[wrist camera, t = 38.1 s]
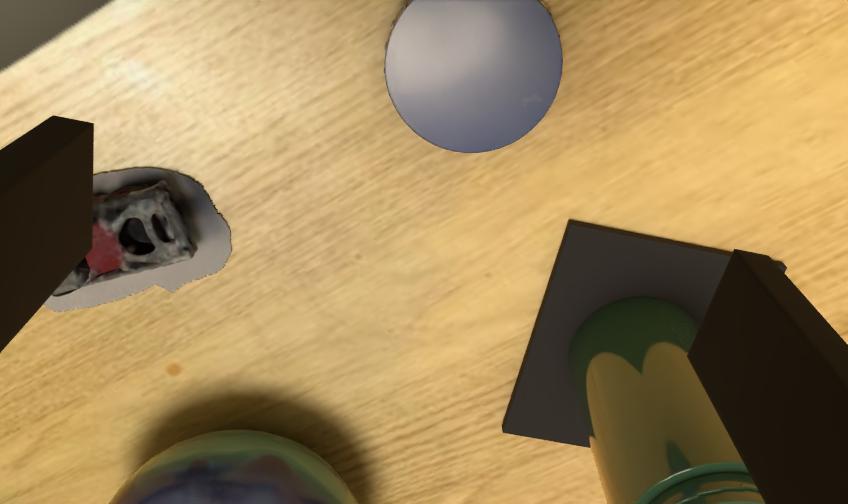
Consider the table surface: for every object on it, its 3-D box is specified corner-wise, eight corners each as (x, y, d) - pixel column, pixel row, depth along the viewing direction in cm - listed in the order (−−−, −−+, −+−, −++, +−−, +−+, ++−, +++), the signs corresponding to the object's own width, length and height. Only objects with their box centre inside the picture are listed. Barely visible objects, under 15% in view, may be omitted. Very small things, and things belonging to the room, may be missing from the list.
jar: (590, 285, 40) (667, 475, 27) (723, 310, 41) (860, 508, 28) (551, 397, 44) (603, 614, 31) (675, 418, 44) (778, 641, 31)
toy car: (-25, 228, 40) (-59, 255, 37) (154, 120, 37) (132, 139, 34) (81, 345, 43) (57, 377, 40) (252, 253, 40) (239, 280, 38)
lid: (364, 113, 37) (361, 123, 35) (416, -58, 33) (416, -55, 32) (519, 163, 38) (523, 175, 36) (585, 3, 35) (593, 9, 33)
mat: (569, 219, 39) (570, 224, 39) (782, 262, 40) (787, 267, 40) (501, 426, 45) (502, 432, 45) (689, 459, 46) (692, 465, 46)
